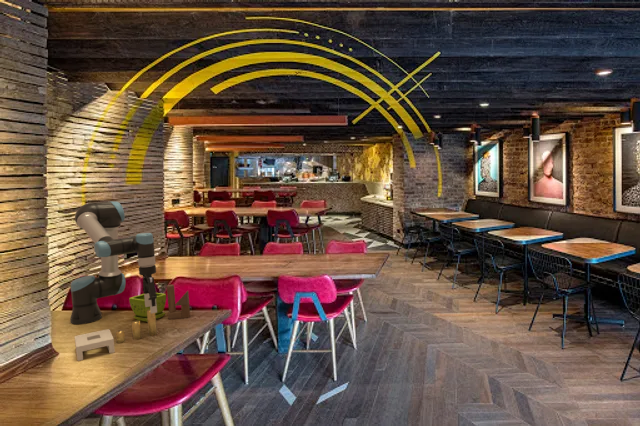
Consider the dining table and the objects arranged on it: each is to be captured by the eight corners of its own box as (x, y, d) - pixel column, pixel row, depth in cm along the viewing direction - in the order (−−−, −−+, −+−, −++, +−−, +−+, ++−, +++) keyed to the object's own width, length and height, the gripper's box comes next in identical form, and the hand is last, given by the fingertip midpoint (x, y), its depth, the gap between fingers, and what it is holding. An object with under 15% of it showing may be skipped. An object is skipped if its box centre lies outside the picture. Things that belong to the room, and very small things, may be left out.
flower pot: (168, 316, 230) (166, 293, 229) (146, 324, 218) (144, 300, 217) (152, 313, 237) (150, 291, 236) (129, 320, 225) (127, 297, 224)
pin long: (148, 334, 203) (146, 310, 202) (156, 332, 205) (154, 308, 204) (149, 336, 200) (147, 311, 199) (157, 334, 202) (155, 310, 201)
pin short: (116, 341, 195) (115, 331, 195) (124, 339, 197) (123, 329, 197) (117, 344, 192) (116, 333, 192) (125, 342, 194) (124, 331, 194)
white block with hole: (75, 349, 188) (74, 336, 188) (110, 341, 196) (109, 328, 195) (77, 361, 175) (76, 347, 174) (114, 352, 182) (113, 338, 182)
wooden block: (188, 318, 225) (186, 285, 224) (168, 319, 224) (165, 286, 223) (190, 315, 229) (187, 283, 227) (170, 317, 228) (167, 284, 226)
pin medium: (132, 338, 199) (131, 321, 198) (140, 336, 201) (139, 319, 200) (133, 340, 196) (132, 323, 195) (142, 338, 198) (140, 321, 197)
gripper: (134, 263, 208) (138, 305, 209) (143, 270, 187) (147, 317, 188) (150, 261, 212) (154, 302, 213) (161, 268, 191) (165, 313, 192)
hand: (151, 309), depth 201 cm, fingers open, 13 cm apart
